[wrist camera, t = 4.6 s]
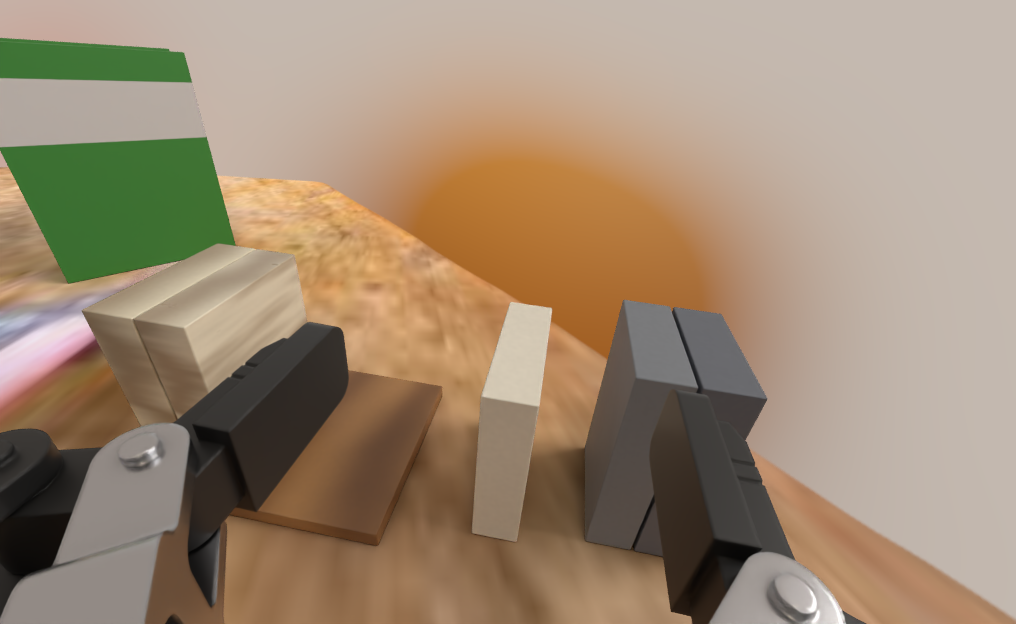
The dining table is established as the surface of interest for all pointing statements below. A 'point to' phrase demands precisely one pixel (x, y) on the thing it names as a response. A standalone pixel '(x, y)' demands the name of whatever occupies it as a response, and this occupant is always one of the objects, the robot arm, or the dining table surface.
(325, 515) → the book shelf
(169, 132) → the hardback book
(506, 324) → the white book
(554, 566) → the dining table surface
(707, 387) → the grey books
